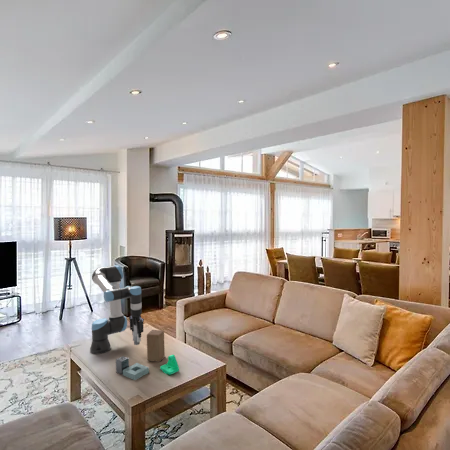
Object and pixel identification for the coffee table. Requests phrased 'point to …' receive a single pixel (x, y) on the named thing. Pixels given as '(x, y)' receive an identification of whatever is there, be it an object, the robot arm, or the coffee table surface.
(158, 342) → the wooden block
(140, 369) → the socket plate
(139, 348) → the coffee table surface
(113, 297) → the robot arm
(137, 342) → the cylinder
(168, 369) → the camera mount
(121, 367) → the square bit
